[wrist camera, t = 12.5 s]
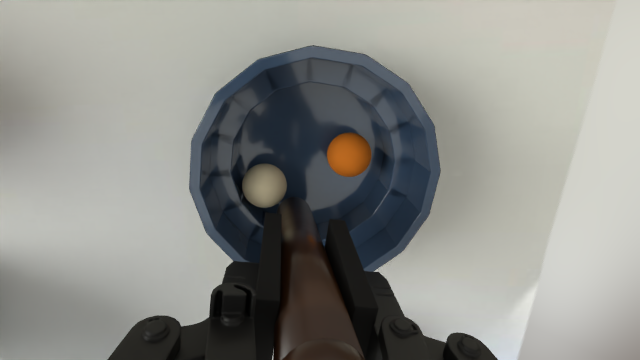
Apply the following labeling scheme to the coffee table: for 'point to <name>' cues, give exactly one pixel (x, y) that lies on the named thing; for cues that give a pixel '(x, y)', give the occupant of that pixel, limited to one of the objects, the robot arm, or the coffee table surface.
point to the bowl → (316, 151)
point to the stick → (309, 294)
